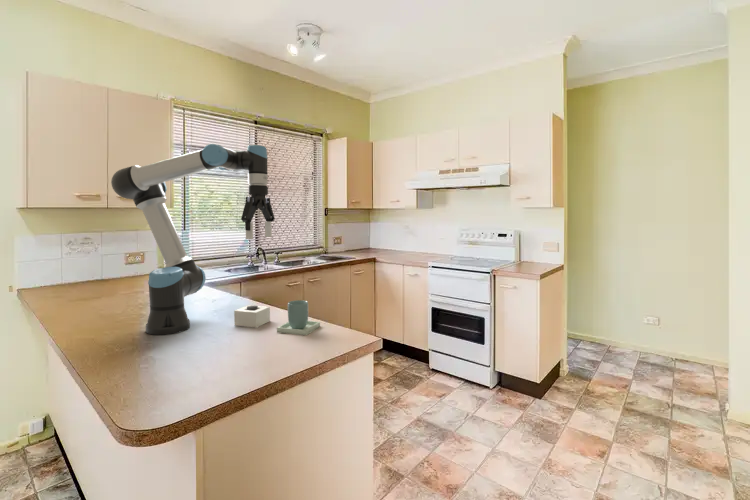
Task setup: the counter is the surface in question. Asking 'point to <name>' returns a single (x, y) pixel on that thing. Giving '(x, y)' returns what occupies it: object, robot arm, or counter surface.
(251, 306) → the grey oval solid
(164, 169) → the robot arm
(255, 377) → the counter surface
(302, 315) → the cup
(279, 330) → the tray
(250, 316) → the housing
